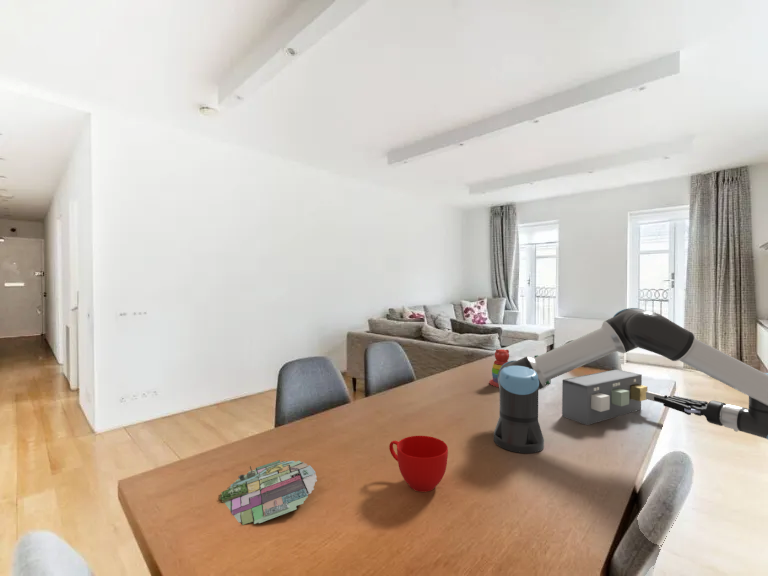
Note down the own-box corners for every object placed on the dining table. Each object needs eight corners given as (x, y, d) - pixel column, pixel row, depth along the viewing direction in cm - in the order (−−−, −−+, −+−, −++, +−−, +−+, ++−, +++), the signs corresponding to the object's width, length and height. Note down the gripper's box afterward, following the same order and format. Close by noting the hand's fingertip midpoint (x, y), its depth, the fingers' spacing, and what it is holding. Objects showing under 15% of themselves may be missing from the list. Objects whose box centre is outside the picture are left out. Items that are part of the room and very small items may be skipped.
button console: (641, 409, 150) (642, 374, 150) (587, 425, 135) (588, 386, 134) (615, 402, 159) (616, 369, 159) (562, 416, 144) (562, 379, 143)
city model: (201, 501, 93) (197, 478, 93) (285, 458, 110) (282, 438, 109) (246, 556, 76) (242, 528, 75) (338, 494, 92) (336, 471, 91)
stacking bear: (510, 382, 189) (510, 347, 189) (515, 388, 179) (515, 351, 179) (488, 382, 190) (488, 347, 190) (492, 388, 180) (492, 351, 180)
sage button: (629, 404, 141) (629, 390, 140) (621, 406, 138) (621, 392, 138) (613, 399, 146) (613, 386, 146) (605, 401, 144) (605, 388, 143)
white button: (609, 409, 135) (609, 395, 135) (600, 411, 133) (601, 397, 133) (593, 404, 140) (593, 391, 140) (584, 406, 138) (585, 393, 138)
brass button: (647, 399, 146) (647, 386, 146) (639, 401, 144) (640, 388, 144) (631, 395, 151) (631, 382, 151) (623, 396, 149) (623, 384, 149)
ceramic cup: (404, 462, 108) (404, 427, 108) (457, 482, 97) (457, 444, 97) (374, 481, 98) (374, 443, 98) (430, 506, 87) (430, 463, 87)
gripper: (714, 430, 120) (636, 407, 141) (733, 422, 126) (656, 402, 147) (715, 406, 120) (637, 387, 141) (734, 400, 126) (656, 383, 147)
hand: (647, 395), depth 144 cm, fingers closed
